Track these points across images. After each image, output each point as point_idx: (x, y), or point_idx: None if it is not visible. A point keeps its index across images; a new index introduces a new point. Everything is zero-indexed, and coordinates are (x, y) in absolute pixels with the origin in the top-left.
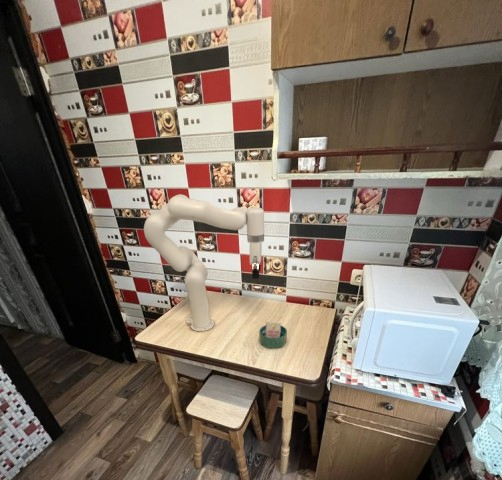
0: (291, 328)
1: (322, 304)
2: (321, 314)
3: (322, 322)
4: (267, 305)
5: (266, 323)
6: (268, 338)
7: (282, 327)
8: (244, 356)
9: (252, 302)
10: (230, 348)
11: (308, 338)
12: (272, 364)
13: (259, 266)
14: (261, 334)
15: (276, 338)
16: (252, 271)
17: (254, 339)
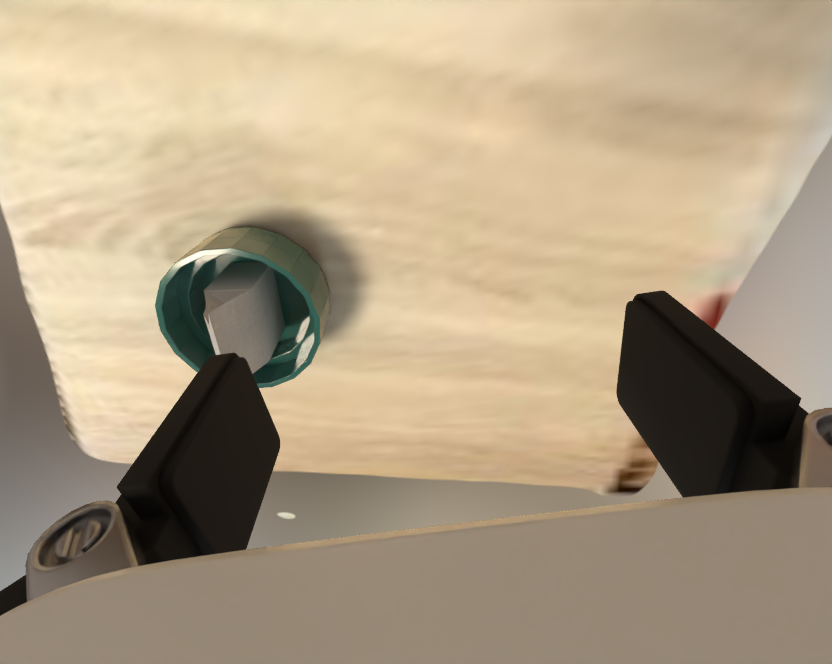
0: (406, 357)
1: (654, 456)
2: (553, 457)
3: (481, 462)
4: (682, 184)
5: (205, 314)
6: (157, 313)
7: (304, 360)
8: (59, 175)
9: (757, 44)
10: (78, 55)
11: (338, 426)
12: (84, 321)
13: (663, 459)
14: (173, 270)
15: (174, 352)
16: (137, 466)
17: (240, 192)
